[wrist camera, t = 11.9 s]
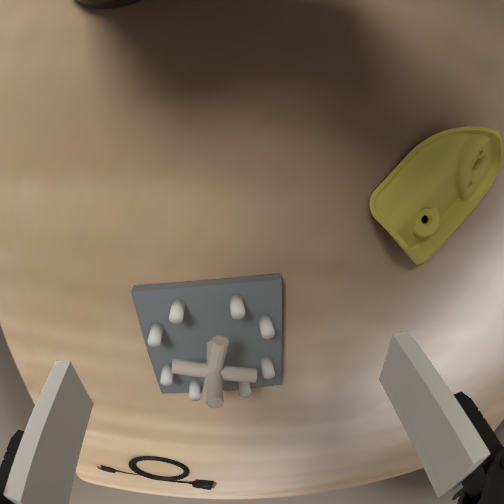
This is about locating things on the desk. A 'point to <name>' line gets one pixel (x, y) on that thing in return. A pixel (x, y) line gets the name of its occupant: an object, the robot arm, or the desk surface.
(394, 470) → the desk surface
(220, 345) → the pipe connector
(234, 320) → the grey peg board
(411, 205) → the plastic component
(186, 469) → the cable
